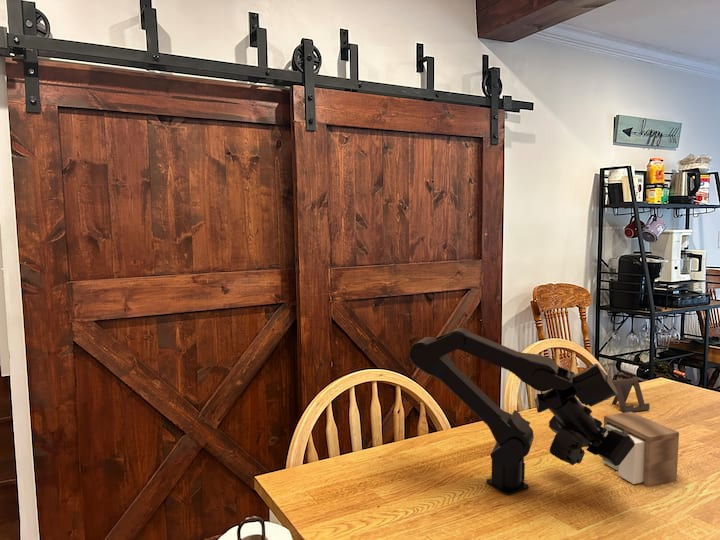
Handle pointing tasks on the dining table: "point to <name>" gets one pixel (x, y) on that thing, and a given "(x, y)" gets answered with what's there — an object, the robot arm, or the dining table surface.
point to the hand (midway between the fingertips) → (608, 457)
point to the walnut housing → (649, 445)
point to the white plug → (634, 462)
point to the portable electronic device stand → (623, 392)
